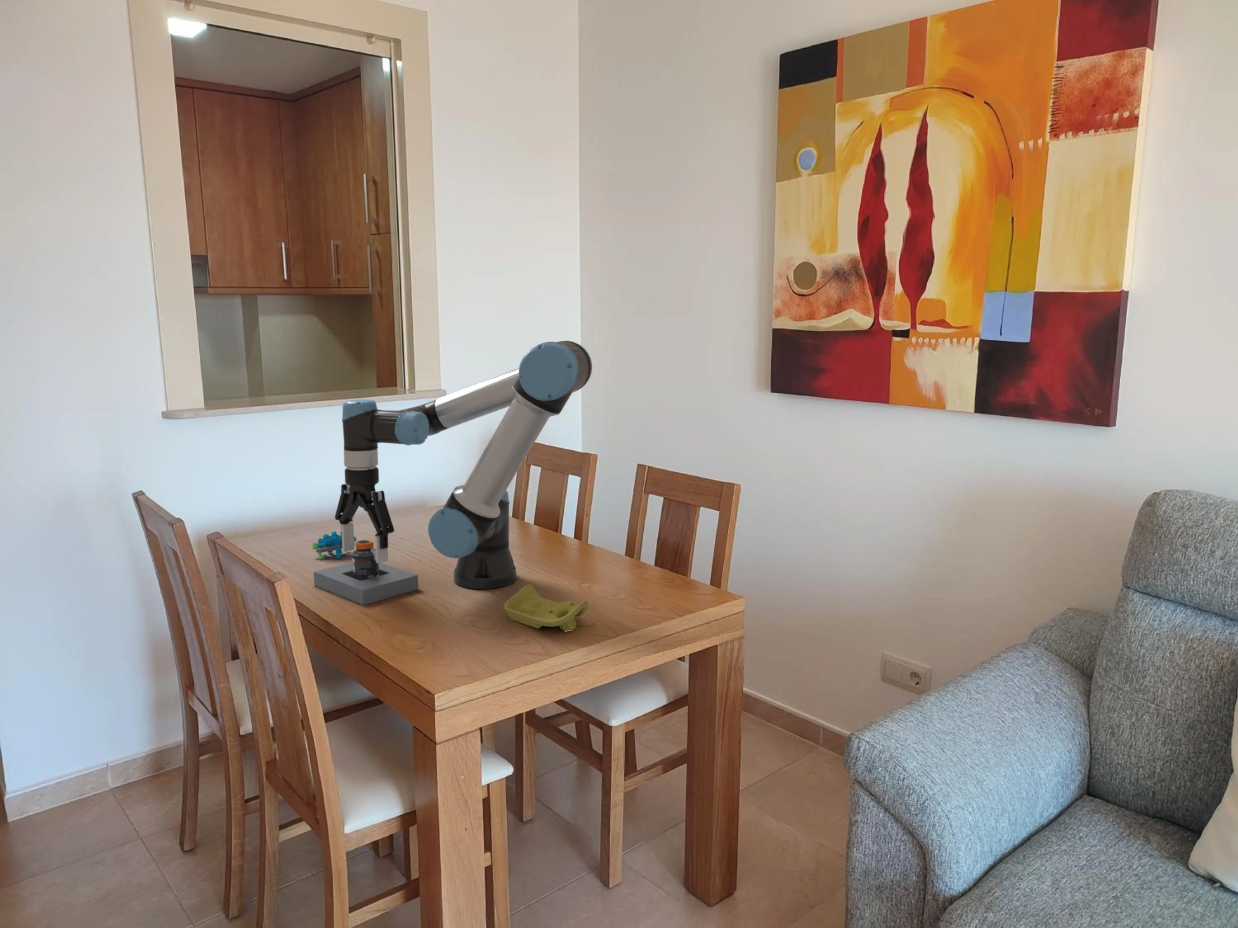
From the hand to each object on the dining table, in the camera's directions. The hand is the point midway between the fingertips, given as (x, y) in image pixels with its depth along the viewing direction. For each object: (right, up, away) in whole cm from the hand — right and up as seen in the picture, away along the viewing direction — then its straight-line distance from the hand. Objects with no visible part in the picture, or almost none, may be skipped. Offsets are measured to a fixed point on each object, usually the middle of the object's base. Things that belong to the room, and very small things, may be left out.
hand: (364, 556), depth 204 cm
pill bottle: (0, -8, +1) cm, 8 cm away
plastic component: (+45, -13, -20) cm, 50 cm away
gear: (-16, -3, +26) cm, 31 cm away
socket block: (0, -8, +1) cm, 8 cm away
